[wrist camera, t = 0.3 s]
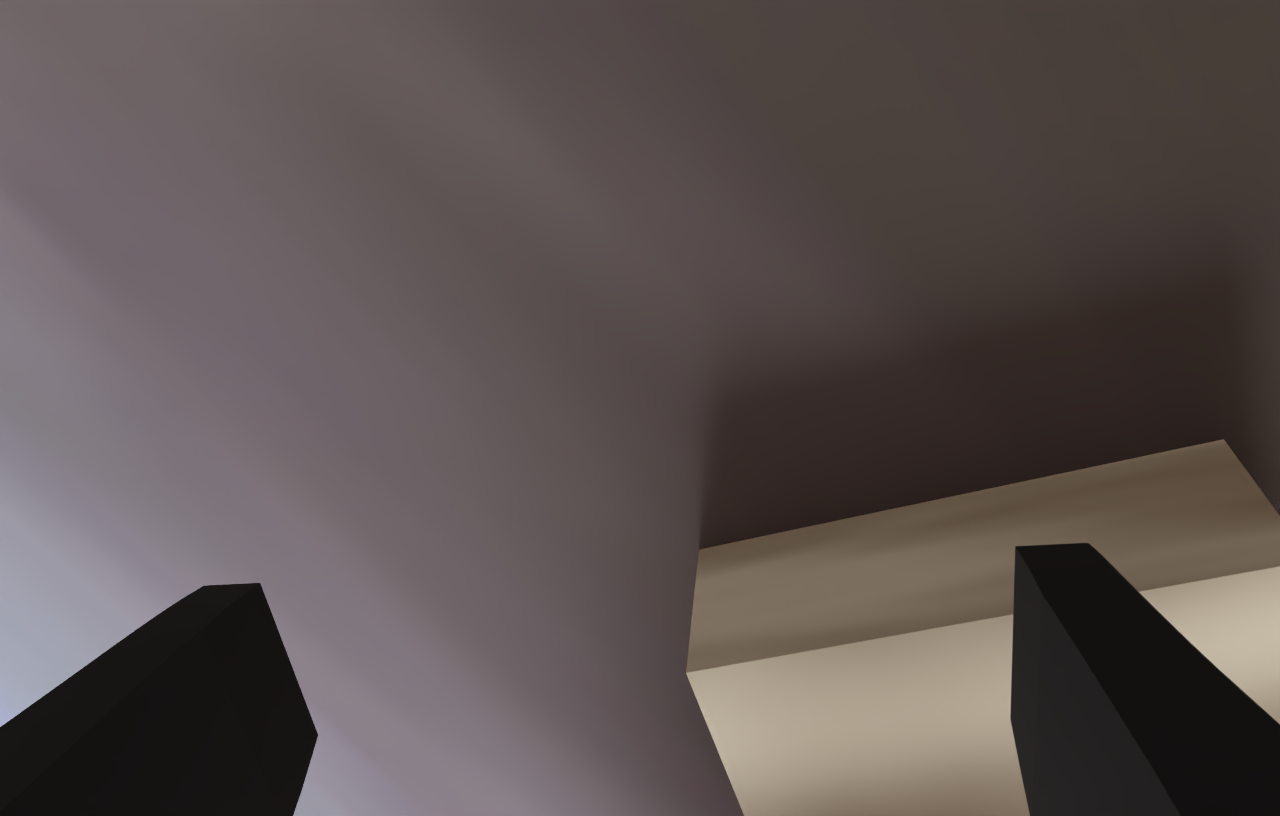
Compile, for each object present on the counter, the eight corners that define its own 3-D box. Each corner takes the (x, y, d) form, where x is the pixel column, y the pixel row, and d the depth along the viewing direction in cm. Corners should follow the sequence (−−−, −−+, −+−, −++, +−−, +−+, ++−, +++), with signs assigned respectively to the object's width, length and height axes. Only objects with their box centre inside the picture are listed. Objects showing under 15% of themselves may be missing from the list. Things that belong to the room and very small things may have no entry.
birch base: (1256, 802, 24) (1339, 970, 20) (819, 859, 26) (826, 1017, 23) (1217, 429, 20) (1312, 560, 16) (699, 539, 22) (685, 672, 19)
